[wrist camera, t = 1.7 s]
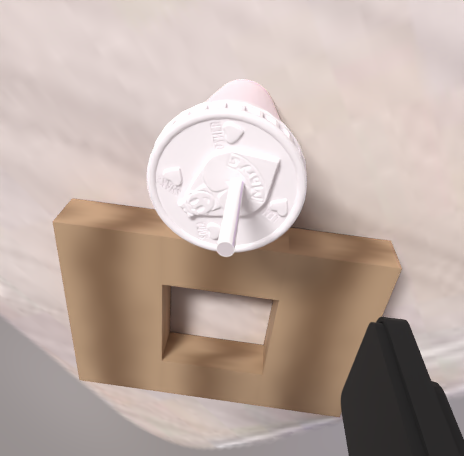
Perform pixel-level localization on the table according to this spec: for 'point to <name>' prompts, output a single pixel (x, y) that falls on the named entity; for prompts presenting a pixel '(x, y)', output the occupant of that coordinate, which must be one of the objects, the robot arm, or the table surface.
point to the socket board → (225, 281)
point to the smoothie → (228, 171)
